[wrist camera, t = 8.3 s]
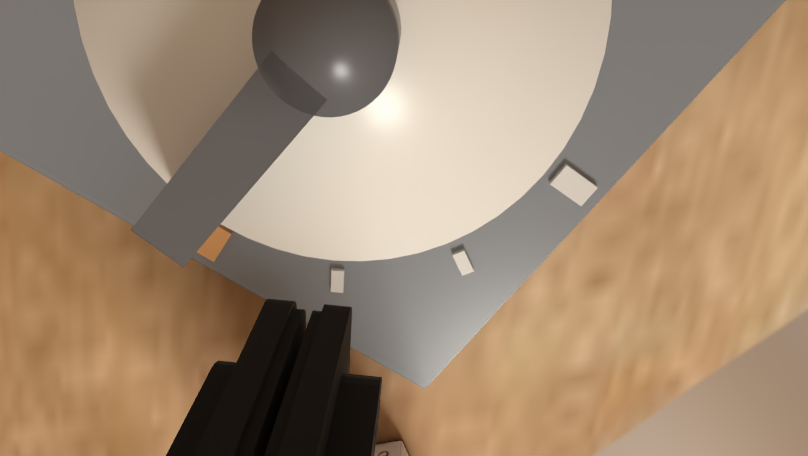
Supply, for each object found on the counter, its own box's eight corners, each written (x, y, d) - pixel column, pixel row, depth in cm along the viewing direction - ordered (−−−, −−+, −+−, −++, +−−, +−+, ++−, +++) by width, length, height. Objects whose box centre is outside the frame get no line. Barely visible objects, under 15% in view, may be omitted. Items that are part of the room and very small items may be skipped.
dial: (305, -481, 14) (251, -684, 9) (704, 8, 18) (793, 26, 14) (6, 38, 19) (-116, 64, 15) (370, 315, 23) (359, 398, 19)
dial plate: (207, -678, 13) (180, -758, 12) (822, -72, 18) (858, -74, 17) (-52, 95, 22) (-88, 106, 20) (424, 367, 27) (424, 392, 25)
